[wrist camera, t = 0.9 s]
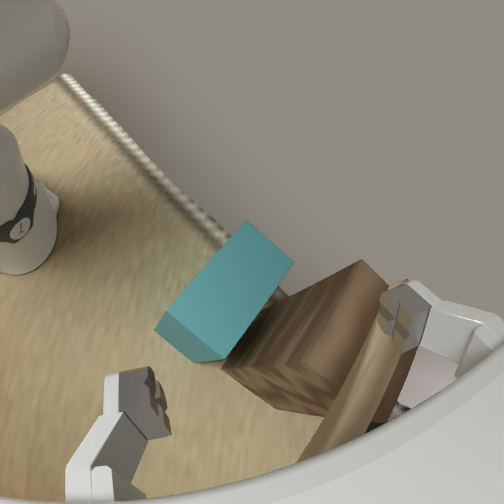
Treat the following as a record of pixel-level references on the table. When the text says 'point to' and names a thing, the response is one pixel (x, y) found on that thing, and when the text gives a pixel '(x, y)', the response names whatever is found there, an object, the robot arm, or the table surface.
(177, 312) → the teal rectangular block
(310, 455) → the baton
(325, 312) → the pillar
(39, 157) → the table surface
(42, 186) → the robot arm
